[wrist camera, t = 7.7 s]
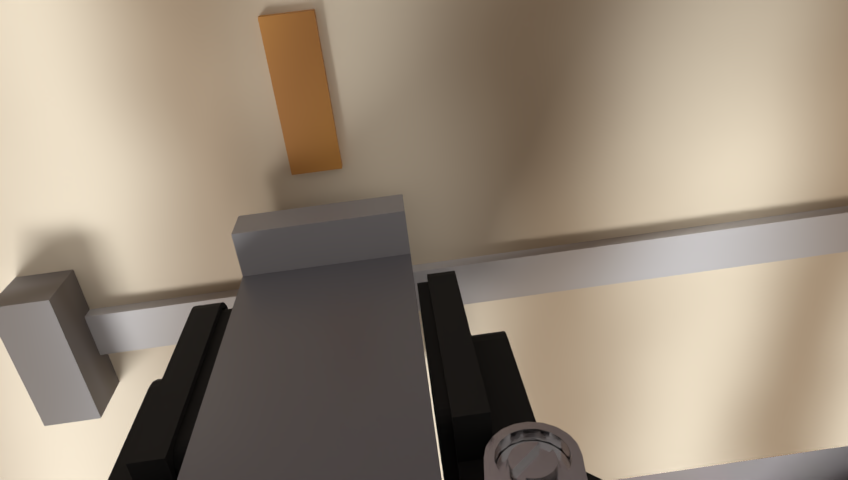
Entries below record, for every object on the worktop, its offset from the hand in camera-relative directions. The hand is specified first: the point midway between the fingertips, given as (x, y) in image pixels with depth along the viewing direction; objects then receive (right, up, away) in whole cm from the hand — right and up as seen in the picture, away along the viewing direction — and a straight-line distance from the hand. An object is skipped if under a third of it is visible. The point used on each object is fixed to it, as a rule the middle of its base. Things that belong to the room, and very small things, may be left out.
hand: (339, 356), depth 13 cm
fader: (0, +1, +1) cm, 2 cm away
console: (+5, +3, +5) cm, 7 cm away
